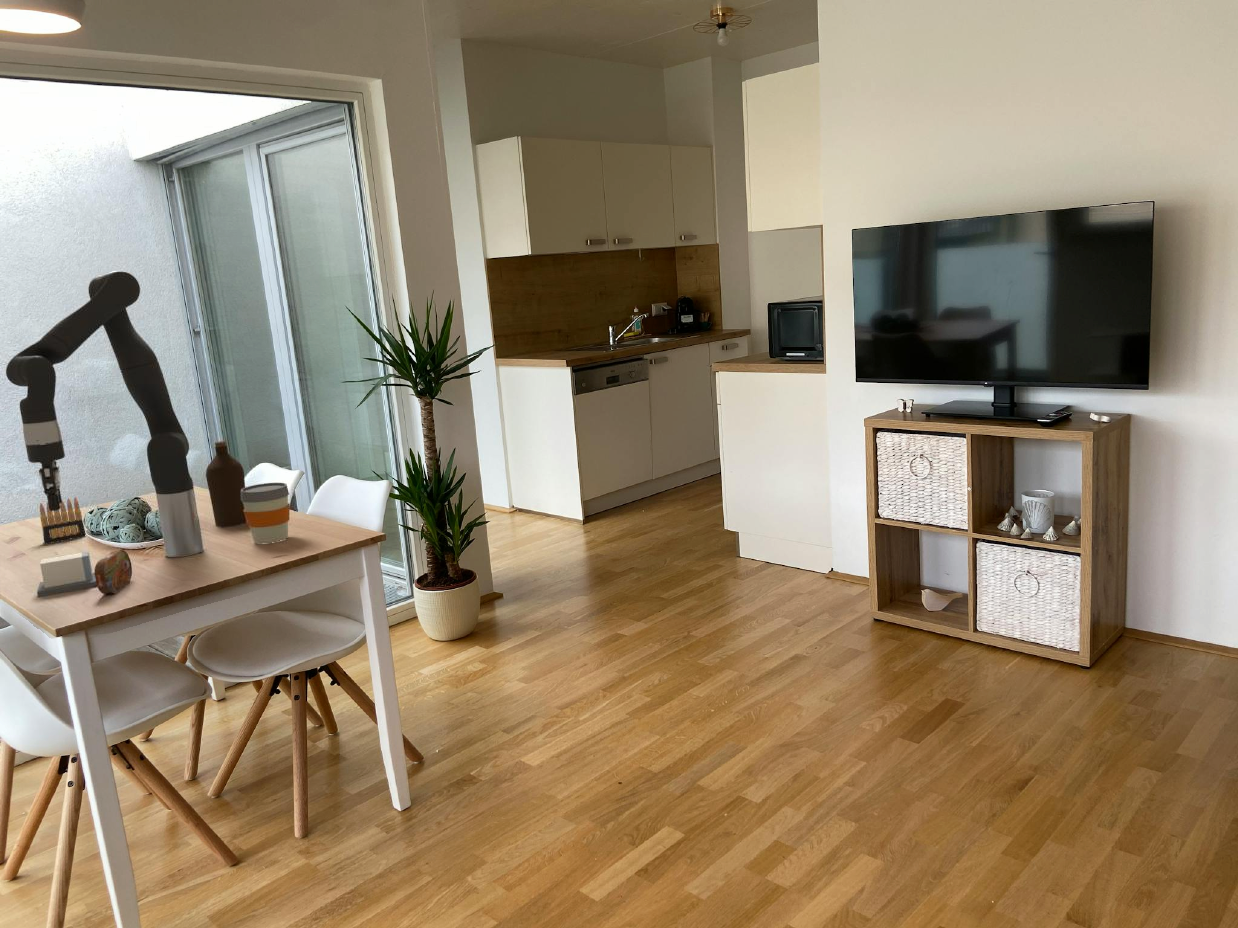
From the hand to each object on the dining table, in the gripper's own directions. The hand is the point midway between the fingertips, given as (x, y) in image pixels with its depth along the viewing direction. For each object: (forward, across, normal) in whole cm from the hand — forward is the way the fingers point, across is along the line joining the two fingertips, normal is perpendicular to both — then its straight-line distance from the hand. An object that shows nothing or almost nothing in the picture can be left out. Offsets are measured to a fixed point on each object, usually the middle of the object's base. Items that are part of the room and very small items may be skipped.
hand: (56, 506), depth 226 cm
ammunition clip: (+20, -58, -3) cm, 61 cm away
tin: (+20, +10, +10) cm, 25 cm away
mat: (+20, 0, 0) cm, 20 cm away
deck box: (+19, 0, 0) cm, 19 cm away
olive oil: (+20, -43, +42) cm, 63 cm away
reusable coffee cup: (+20, -12, +48) cm, 54 cm away
